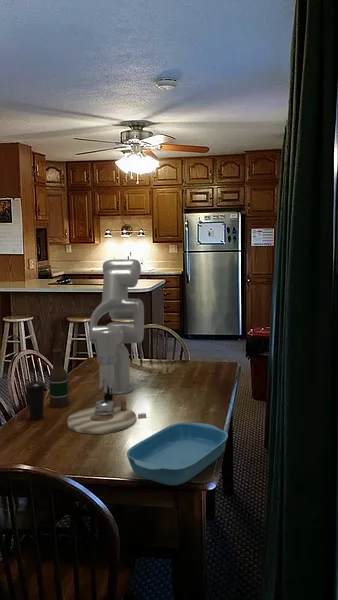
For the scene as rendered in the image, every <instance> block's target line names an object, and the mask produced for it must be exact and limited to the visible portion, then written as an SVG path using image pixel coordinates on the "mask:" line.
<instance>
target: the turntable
mask: <svg viewBox="0 0 338 600" xmlns="http://www.w3.org/2000/svg"><path fill="white" fill-rule="evenodd" d="M95 410H96V407H95V406H93V407H88V408H84V409H81V410H78V411H75V412H73V413H72V414H70V415H69V416H68V417H67V420H66V421H67V427H68V428H69V429H70V430H72V431H74V432H77V433H80V434H87V435H88V434H89V435H102V434H103V435H104V434H111V433H116V432H120V431H124V430H126V429H129V428H131V427H132V426H134V424H136V421H137V414H136V412H134V411H133V410H131V409H129V408H127V397H126V396H121V397H120V406H114V413H113V414H111V415H107V416H99V415H96V414H95Z"/></svg>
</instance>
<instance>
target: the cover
mask: <svg viewBox="0 0 338 600" xmlns="http://www.w3.org/2000/svg"><path fill="white" fill-rule="evenodd" d="M94 403H95V405H94V407H96V410H95V414H96V415H99V416H107V415H111V414H113V413H114V407H115V406H114V400H113V401H111V400H104V399H101V400H100V399H99V400H96V402H94Z"/></svg>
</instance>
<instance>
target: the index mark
mask: <svg viewBox="0 0 338 600" xmlns="http://www.w3.org/2000/svg"><path fill="white" fill-rule="evenodd" d="M137 418H138V419H147V413H146V412H143V413H137Z"/></svg>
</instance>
